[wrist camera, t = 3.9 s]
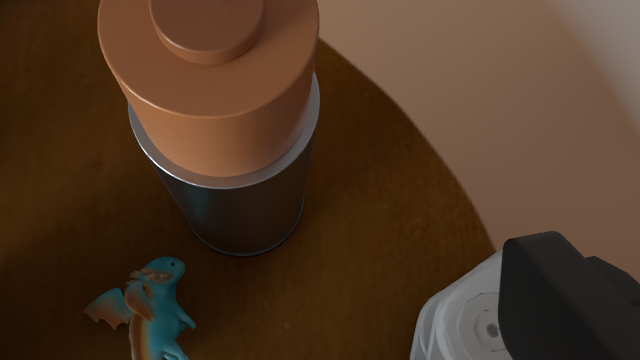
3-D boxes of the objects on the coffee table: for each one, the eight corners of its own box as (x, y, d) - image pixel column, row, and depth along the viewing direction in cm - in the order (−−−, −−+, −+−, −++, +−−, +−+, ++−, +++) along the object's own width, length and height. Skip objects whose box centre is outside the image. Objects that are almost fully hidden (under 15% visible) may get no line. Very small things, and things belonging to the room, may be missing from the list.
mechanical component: (397, 414, 32) (429, 235, 35) (539, 448, 32) (559, 266, 35) (421, 424, 27) (456, 213, 30) (590, 465, 27) (608, 250, 30)
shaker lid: (103, 115, 21) (38, 23, 15) (207, -6, 23) (184, -130, 17) (244, 211, 20) (232, 152, 15) (340, 79, 22) (364, -20, 16)
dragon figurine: (289, 344, 32) (190, 230, 30) (199, 468, 27) (76, 343, 25) (229, 348, 37) (141, 251, 35) (145, 453, 32) (38, 349, 30)
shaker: (157, 213, 34) (82, 119, 21) (230, 119, 36) (204, -22, 23) (258, 282, 33) (248, 231, 20) (327, 183, 35) (359, 76, 22)
